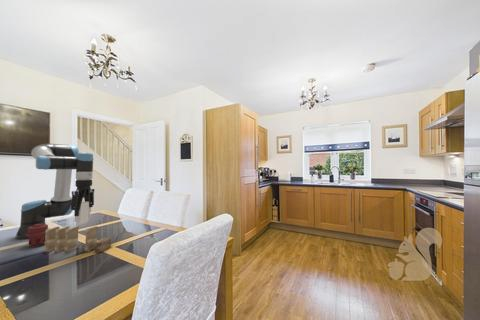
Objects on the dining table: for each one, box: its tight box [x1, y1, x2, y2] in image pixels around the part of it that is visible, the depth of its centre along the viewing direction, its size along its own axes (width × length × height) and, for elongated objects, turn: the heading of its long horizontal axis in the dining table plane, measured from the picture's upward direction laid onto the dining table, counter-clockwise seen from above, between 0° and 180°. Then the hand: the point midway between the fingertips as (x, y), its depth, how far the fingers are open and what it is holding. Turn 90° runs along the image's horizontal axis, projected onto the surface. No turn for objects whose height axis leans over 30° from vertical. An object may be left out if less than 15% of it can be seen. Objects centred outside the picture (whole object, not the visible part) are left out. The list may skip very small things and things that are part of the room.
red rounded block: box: [25, 223, 49, 249], centre depth 114 cm, size 12×10×10 cm
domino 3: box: [64, 225, 80, 253], centre depth 108 cm, size 2×6×12 cm, turn 1°
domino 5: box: [84, 225, 99, 252], centre depth 108 cm, size 2×6×12 cm, turn 1°
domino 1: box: [44, 226, 60, 253], centre depth 108 cm, size 2×6×12 cm, turn 1°
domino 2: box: [54, 226, 70, 253], centre depth 108 cm, size 2×6×12 cm, turn 1°
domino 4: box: [75, 201, 89, 226], centre depth 109 cm, size 2×6×12 cm, turn 1°
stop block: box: [93, 237, 112, 253], centre depth 108 cm, size 4×8×5 cm, turn 1°
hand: (82, 220), depth 109 cm, fingers closed on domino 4, 6 cm apart
